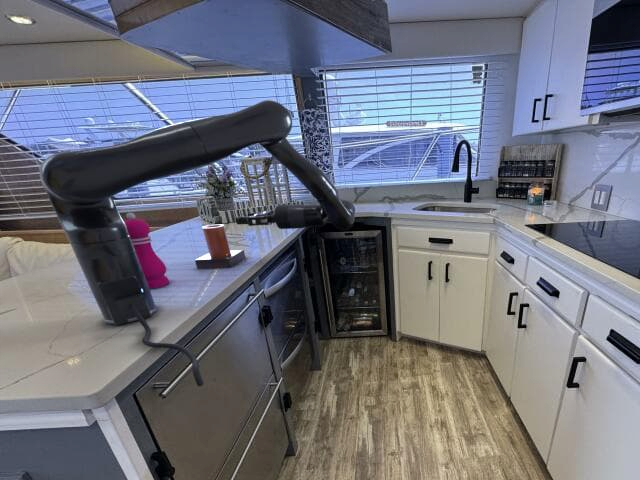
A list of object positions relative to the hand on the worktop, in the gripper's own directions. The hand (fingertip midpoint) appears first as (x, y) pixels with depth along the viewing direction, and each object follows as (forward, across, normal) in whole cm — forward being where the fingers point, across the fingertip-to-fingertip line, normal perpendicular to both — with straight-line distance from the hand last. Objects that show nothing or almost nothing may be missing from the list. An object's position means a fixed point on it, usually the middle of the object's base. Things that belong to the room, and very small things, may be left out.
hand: (242, 218), depth 103 cm
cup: (+10, 0, +12) cm, 15 cm away
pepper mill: (+19, +20, +15) cm, 31 cm away
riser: (+10, 0, +15) cm, 18 cm away
